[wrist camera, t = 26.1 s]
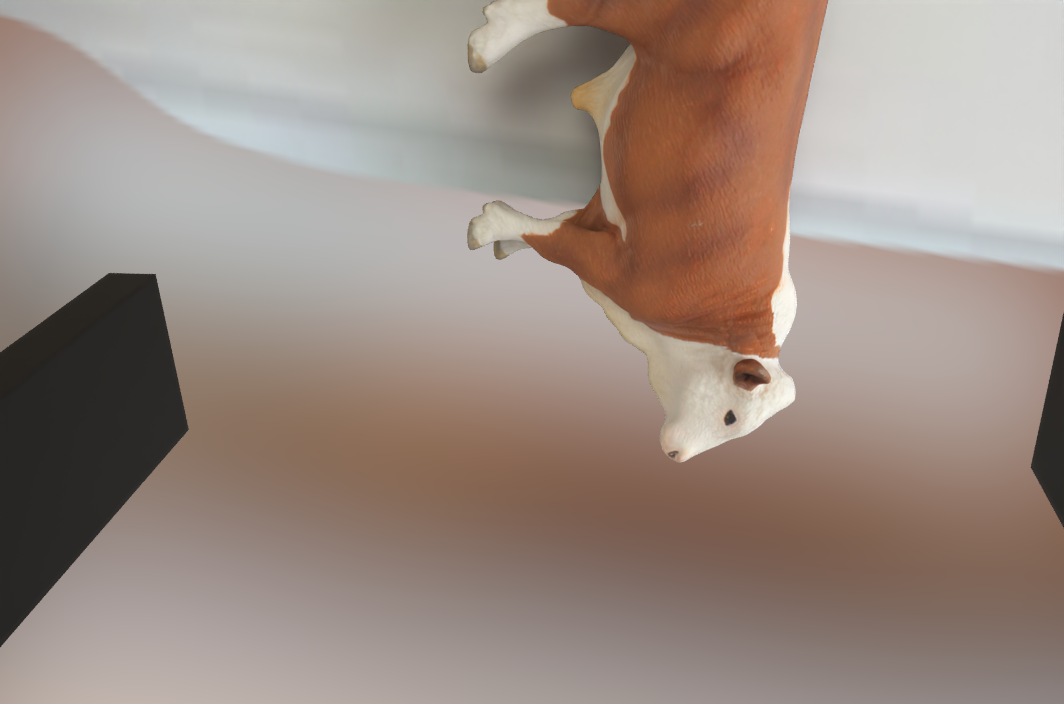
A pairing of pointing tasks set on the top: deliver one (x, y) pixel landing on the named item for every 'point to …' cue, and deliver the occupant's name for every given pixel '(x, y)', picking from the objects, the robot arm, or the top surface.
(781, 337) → the bull figurine
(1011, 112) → the top surface
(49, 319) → the robot arm
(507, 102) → the top surface
